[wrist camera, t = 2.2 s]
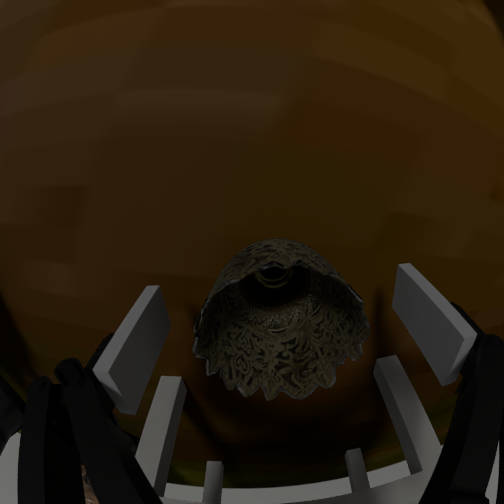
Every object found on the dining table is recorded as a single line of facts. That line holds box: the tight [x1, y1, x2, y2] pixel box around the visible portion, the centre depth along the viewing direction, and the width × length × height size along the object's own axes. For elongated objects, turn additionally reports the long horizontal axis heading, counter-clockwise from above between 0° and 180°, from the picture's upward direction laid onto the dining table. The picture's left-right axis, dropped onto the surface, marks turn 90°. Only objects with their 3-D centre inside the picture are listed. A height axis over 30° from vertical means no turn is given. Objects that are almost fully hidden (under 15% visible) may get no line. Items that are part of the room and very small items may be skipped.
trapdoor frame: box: [135, 355, 442, 504], centre depth 19 cm, size 22×22×16 cm
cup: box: [193, 239, 370, 401], centre depth 14 cm, size 8×7×8 cm
